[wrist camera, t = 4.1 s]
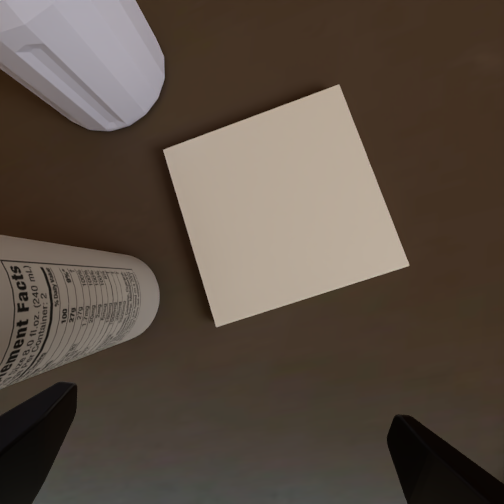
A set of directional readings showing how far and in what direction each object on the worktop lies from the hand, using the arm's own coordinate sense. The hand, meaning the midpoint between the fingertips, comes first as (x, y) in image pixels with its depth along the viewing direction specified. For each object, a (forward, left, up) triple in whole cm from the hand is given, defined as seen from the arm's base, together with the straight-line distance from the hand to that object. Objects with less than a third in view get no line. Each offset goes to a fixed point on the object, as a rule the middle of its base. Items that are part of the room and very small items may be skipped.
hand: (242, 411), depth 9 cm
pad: (+8, +3, -12) cm, 15 cm away
